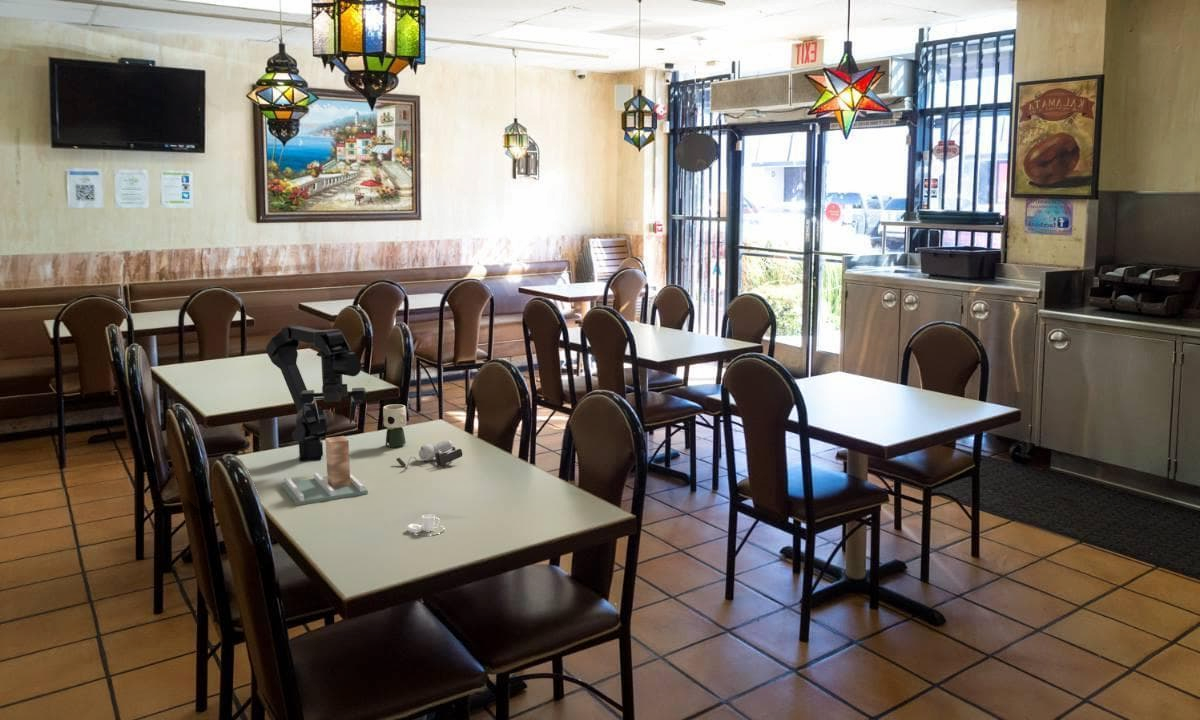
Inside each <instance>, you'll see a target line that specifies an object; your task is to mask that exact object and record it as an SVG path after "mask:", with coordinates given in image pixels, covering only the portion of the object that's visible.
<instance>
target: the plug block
mask: <svg viewBox="0 0 1200 720" xmlns="http://www.w3.org/2000/svg"><path fill="white" fill-rule="evenodd" d="M324 440H325V457H326V458H325V459H326V474H327V476H326V477H327V478H328V484H329V485H330V486H331V487H332V488H337V487H344V486H350V485H351V484H350V473H351V469H350V467H351V465H350V446H349V439H348V438H346V437H345V436H344V435H341V436H331V437H324Z"/></svg>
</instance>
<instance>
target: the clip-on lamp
mask: <svg viewBox="0 0 1200 720" xmlns="http://www.w3.org/2000/svg"><path fill="white" fill-rule="evenodd" d="M463 455H464V453H463V450H462V449H461V448H458V449H456V447H455V446H454V444H453V442H452V441H451V440H450V439H446V440H442V441H440V442H437V443H434V444H430V443H426V444H423V445H422V446H420V450H419V451H418V456H419V458H420V459H418V458H417V457H416V456H414V455H411V456H410V457H409V458H408V460H407V464H406V463H405V462H404V461H403V460H402V459H401V458H400V457H398V456H396V461H397V462H398V464H399V465H400V466H401V467H402V468H408V467H409V465H410V460H411V459H412V458H413V459H414V460H415V461H417V462H422V461H425V462H429V461H432V460H434V458H435V461H436V465H437V467H440V466H441V468H446V466H447V465H446V464H449V463H451V462H453V461H455V460H457V459H460V458H462V457H463Z"/></svg>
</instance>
